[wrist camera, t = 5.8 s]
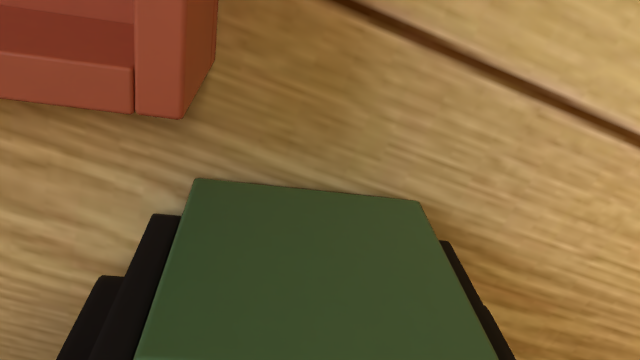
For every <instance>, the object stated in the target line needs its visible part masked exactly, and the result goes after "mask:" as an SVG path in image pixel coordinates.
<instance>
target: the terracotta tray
mask: <svg viewBox="0 0 640 360" xmlns="http://www.w3.org/2000/svg"><path fill="white" fill-rule="evenodd" d="M217 15H218V0H0V98H2V99H10V100H18V101H26V102H34V103H42V104H50V105H58V106H66V107H74V108H83V109H91V110H99V111H107V112H115V113H123V114H133V113H134V112H135V111H136V113H137V114H139V115H145V116H153V117H161V118H169V119H177V120H179V119H182V118H183V116H184V115H185V113H186V111H187V109H188V107H189V106H190V104H191V102H192V100H193V98H194V96H195V95H196V93H197V91H198V89H199V87H200V85H201V84H202V82H203V80H204V78H205V76H206V75H207V73H208V71H209V69H210V68H211V66H212V64H213V62H214V60H215V48H216V32H217Z"/></svg>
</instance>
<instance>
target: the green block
mask: <svg viewBox="0 0 640 360" xmlns="http://www.w3.org/2000/svg"><path fill="white" fill-rule="evenodd" d="M133 360H499V359H498V357H497V355H496V353H495V351H494V349H493V347H492V345H491V343H490V341H489V339H488V337H487V335H486V333H485V331H484V329H483V327H482V325H481V323H480V321H479V319H478V317H477V315H476V313H475V311H474V309H473V307H472V305H471V304H470V302H469V300H468V298H467V296H466V294H465V292H464V290H463V288H462V286H461V284H460V282H459V280H458V278H457V276H456V274H455V272H454V270H453V268H452V266H451V264H450V262H449V260H448V258H447V256H446V254H445V252H444V250H443V248H442V246H441V244H440V242H439V240H438V238H437V237H436V235H435V233H434V231H433V229H432V227H431V225H430V223H429V221H428V219H427V217H426V215H425V213H424V211H423V209H422V207H421V205H420V203H419V202H417V201H414V200H404V199H395V198H385V197H375V196H366V195H356V194H347V193H337V192H327V191H318V190H308V189H299V188H289V187H280V186H270V185H260V184H251V183H241V182H232V181H222V180H212V179H203V178H197V179H195V180H194V182H193V185H192V188H191V191H190V194H189V197H188V200H187V203H186V206H185V209H184V211H183V214H182V217H181V220H180V223H179V226H178V229H177V232H176V235H175V238H174V241H173V244H172V247H171V250H170V253H169V256H168V259H167V262H166V265H165V268H164V271H163V274H162V276H161V279H160V282H159V285H158V288H157V291H156V294H155V297H154V300H153V303H152V306H151V309H150V312H149V315H148V318H147V321H146V324H145V327H144V330H143V333H142V336H141V339H140V341H139V344H138V347H137V350H136V353H135V356H134V359H133Z"/></svg>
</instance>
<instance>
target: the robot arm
mask: <svg viewBox="0 0 640 360" xmlns="http://www.w3.org/2000/svg"><path fill="white" fill-rule="evenodd" d="M180 220H181V216H174V215H163V214H153V215H152V216H151V218H150V221H149V223H148V225H147V227H146V230H145V232H144V234H143V237H142V239H141V241H140V243H139V246H138V248H137V250H136V252H135V255H134V257H133V259H132V261H131V264H130V266H129V268H128V270H127V273H126V275H125V277H119V276H106V275H102V276H101V277H99V278H98V280H97V282H96V283H95V285H94V287H93V289H92V291H91V293H90V295H89V297H88V299H87V300H86V302H85V304H84V306H83V308H82V310H81V312H80V314H79V316H78V318H77V320H76V322H75V324H74V326H73V328H72V330H71V331H70V333H69V335H68V337H67V339H66V341H65V343H64V345H63V347H62V349H61V351H60V353H59V355H58V357H57V359H56V360H133V359H134V356H135V353H136V350H137V347H138V344H139V341H140V339H141V336H142V333H143V330H144V327H145V324H146V321H147V318H148V315H149V312H150V309H151V306H152V303H153V300H154V297H155V294H156V291H157V288H158V285H159V282H160V279H161V276H162V274H163V271H164V268H165V265H166V262H167V259H168V256H169V253H170V250H171V247H172V244H173V241H174V238H175V235H176V232H177V229H178V226H179V223H180ZM439 242H440V244H441V246H442V248H443V250H444V252H445V254H446V256H447V258H448V260H449V262H450V264H451V266H452V268H453V270H454V272H455V274H456V276H457V278H458V280H459V282H460V284H461V286H462V288H463V290H464V292H465V294H466V296H467V298H468V300H469V302H470V304H471V305H472V307H473V309H474V311H475V313H476V315H477V317H478V319H479V321H480V323H481V325H482V327H483V329H484V331H485V333H486V335H487V337H488V339H489V341H490V343H491V345H492V347H493V349H494V351H495V353H496V355H497V357H498V359H499V360H516V359H515V357H514V355H513V353H512V352H511V350H510V348H509V346H508V344H507V342H506V341H505V339H504V337H503V335H502V333H501V331H500V330H499V328H498V326H497V324H496V322H495V320H494V319H493V317H492V315H491V313H490V311H489V310H488V309H487V307H486V306H484V305H483V304H482V302H481V300H480V298H479V296H478V294H477V293H476V291H475V289H474V287H473V285H472V283H471V281H470V280H469V278H468V276H467V274H466V272H465V270H464V268H463V266H462V265H461V263H460V261H459V259H458V257H457V255H456V253H455V252H454V250H453V248H452V246H451V244H450V243H449V242H448V241H441V240H439Z"/></svg>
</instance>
